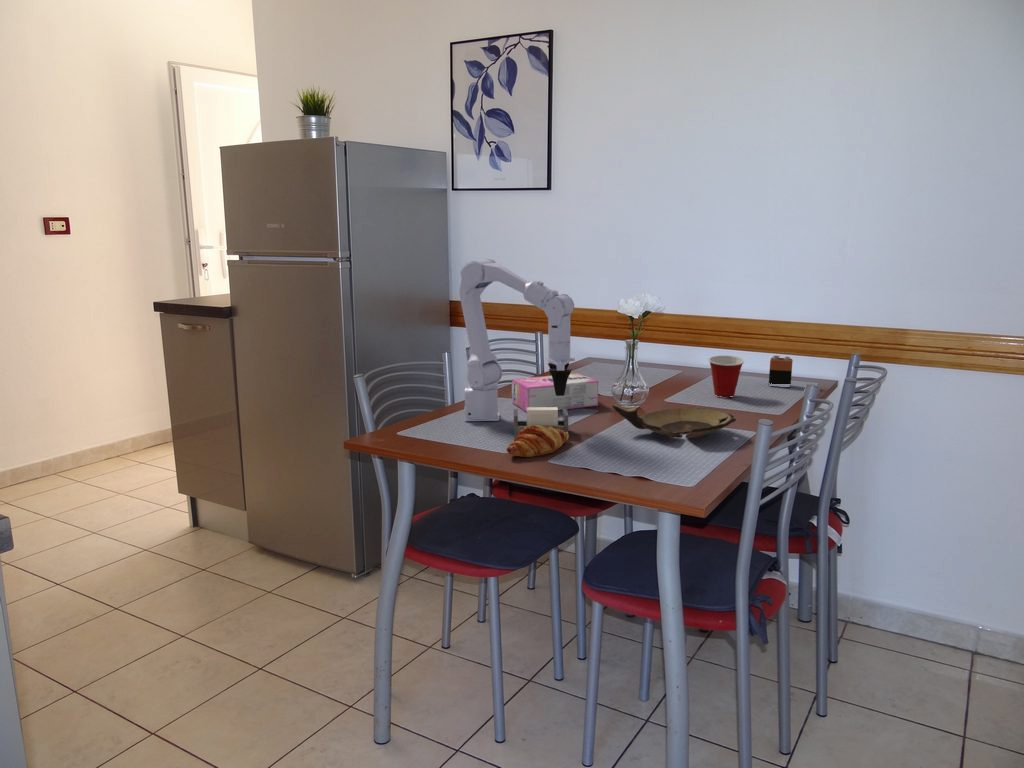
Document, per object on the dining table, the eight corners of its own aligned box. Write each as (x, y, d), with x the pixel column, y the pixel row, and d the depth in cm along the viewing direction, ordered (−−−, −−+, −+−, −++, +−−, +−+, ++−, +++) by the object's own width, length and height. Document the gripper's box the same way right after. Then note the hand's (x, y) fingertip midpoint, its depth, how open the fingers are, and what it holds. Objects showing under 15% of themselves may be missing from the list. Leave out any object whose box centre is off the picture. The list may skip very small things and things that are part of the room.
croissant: (558, 452, 201) (547, 423, 202) (586, 441, 194) (575, 411, 195) (500, 470, 186) (489, 438, 187) (529, 458, 179) (517, 426, 180)
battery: (769, 384, 262) (771, 354, 260) (790, 385, 259) (792, 355, 257) (768, 386, 258) (770, 356, 256) (790, 388, 255) (792, 358, 253)
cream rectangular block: (527, 432, 204) (526, 410, 203) (526, 429, 207) (526, 407, 206) (557, 432, 204) (557, 410, 203) (557, 429, 207) (557, 407, 206)
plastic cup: (707, 399, 241) (709, 361, 238) (705, 391, 251) (707, 355, 248) (744, 401, 239) (746, 362, 236) (740, 393, 249) (742, 355, 246)
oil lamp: (722, 452, 188) (724, 421, 187) (605, 437, 202) (605, 408, 200) (742, 429, 208) (743, 401, 206) (633, 417, 221) (634, 390, 220)
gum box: (602, 406, 234) (583, 396, 246) (603, 380, 232) (583, 371, 244) (527, 413, 226) (511, 403, 238) (527, 387, 224) (511, 377, 237)
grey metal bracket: (514, 437, 202) (513, 416, 201) (513, 429, 209) (513, 409, 208) (568, 436, 202) (568, 415, 201) (566, 429, 209) (566, 408, 208)
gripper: (576, 345, 198) (576, 398, 201) (572, 337, 212) (572, 386, 215) (548, 346, 198) (548, 398, 201) (546, 337, 212) (546, 386, 215)
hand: (559, 392), depth 208 cm, fingers open, 7 cm apart
